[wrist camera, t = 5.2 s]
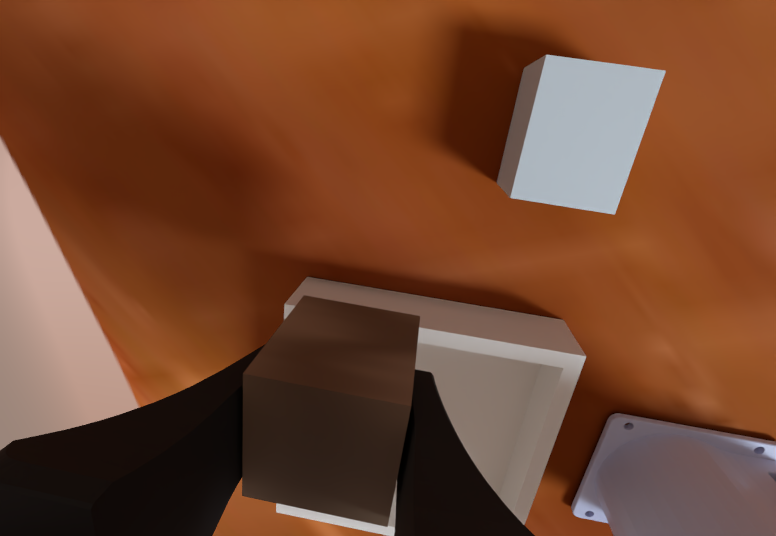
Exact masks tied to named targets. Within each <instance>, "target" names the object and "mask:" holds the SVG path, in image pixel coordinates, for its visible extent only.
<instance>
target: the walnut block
mask: <svg viewBox="0 0 776 536" xmlns="http://www.w3.org/2000/svg"><path fill="white" fill-rule="evenodd" d="M419 323H420V316H417V315H412V314H406V313H400V312H395V311H389V310H384V309H378V308H372V307H367V306H361V305H356V304H350V303H345V302H339V301H333V300H328V299H322V298H317V297H311V296H306V295H304V296H303V297H302V298H301V300H300V301H299V302H298V303H297V305H296V306H295V307H294V309H293V310H292V311H291V312H290V314H289V315H288V316H287V318H286V319H285V320H284V321H283V323H282V324H281V325H280V327H279V328H278V329H277V330H276V332H275V333H274V334H273V336H272V337H271V338H270V339H269V341H268V342H267V343H266V345H265V346H264V347H263V348H262V350H261V351H260V352H259V353H258V355H257V356H256V357H255V359H254V360H253V361H252V362H251V364H250V365H249V366H248V368H247V369H246V370H245V371H244V373H243V455H242V496H245V497H250V498H255V499H259V500H264V501H269V502H273V503H278V504H283V505H287V506H292V507H296V508H301V509H306V510H310V511H315V512H320V513H324V514H329V515H334V516H338V517H343V518H347V519H352V520H357V521H361V522H366V523H371V524H375V525H380V526H385V527H388V522H389V517H390V512H391V507H392V502H393V497H394V492H395V487H396V482H397V476H398V471H399V466H400V461H401V456H402V451H403V446H404V441H405V436H406V430H407V425H408V420H409V415H410V410H411V404H412V394H413V383H414V373H415V363H416V353H417V343H418V333H419Z"/></svg>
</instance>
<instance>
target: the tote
mask: <svg viewBox="0 0 776 536" xmlns="http://www.w3.org/2000/svg"><path fill="white" fill-rule="evenodd" d="M304 295H306V296H311V297H317V298H322V299H328V300H333V301H339V302H345V303H350V304H356V305H361V306H367V307H372V308H378V309H384V310H389V311H395V312H400V313H406V314H412V315H417V316H420V323H419V333H418V343H417V353H416V363H415V369H417V370H422V371H427V372H431V373H432V374H433V376H434V380H435V383H436V386H437V389H438V392H439V395H440V398H441V400H442V403H443V405H444V408H445V410H446V412H447V414H448V417H449V419H450V421H451V423H452V425H453V427H454V429H455V431H456V433H457V435H458V437H459V439H460V440H461V442H462V444H463V446H464V448H465V449H466V451H467V453H468V454H469V456H470V458H471V459H472V461H473V462H474V464H475V465H476V467H477V468H478V470H479V471H480V473H481V474H482V475H483V477H484V478H485V480H486V481H487V482H488V484H489V485H490V486H491V487H492V489H493V490H494V491H495V492H496V494H497V495H498V496H499V497H500V499H501V500H502V501H503V502H504V504H505V505H506V506H507V507H508V508H509V509H510V510H511V512H512V513H513V514H514V515H515V516H516V517H517V518H518V519H519V520H520V521H521V522H522V524H523V525H525V522H526V519H527V516H528V514H529V511H530V508H531V506H532V503H533V500H534V497H535V495H536V492H537V489H538V487H539V484H540V481H541V478H542V476H543V473H544V470H545V468H546V465H547V462H548V459H549V457H550V454H551V451H552V449H553V446H554V443H555V440H556V438H557V435H558V432H559V430H560V427H561V424H562V421H563V419H564V416H565V413H566V411H567V408H568V405H569V402H570V400H571V397H572V394H573V392H574V389H575V386H576V383H577V381H578V378H579V375H580V373H581V370H582V367H583V364H584V362H585V359H586V355H585V353H584V352H583V350H582V349H581V347H580V345H579V344H578V342H577V341H576V339H575V338H574V336H573V334H572V333H571V331H570V330H569V328H568V326H567V325H566V323H565V322H564V320H561V319H555V318H549V317H543V316H537V315H532V314H526V313H520V312H514V311H508V310H502V309H496V308H490V307H484V306H478V305H472V304H466V303H461V302H455V301H449V300H443V299H437V298H431V297H425V296H419V295H413V294H407V293H401V292H395V291H389V290H384V289H378V288H372V287H366V286H360V285H354V284H348V283H342V282H336V281H330V280H324V279H318V278H313V277H306V279H305V280H304V281H303V282H302V283H301V285H300V286H299V287H298V288H297V289H296V291H295V292H294V293H293V294H292V295H291V297H290V298H289V299H288V300H287V301H286V303H285V304H284V320H285V319H286V318H287V316H288V315H289V314H290V312H291V311H292V310H293V309H294V307H295V306H296V305H297V303H298V302H299V301H300V300H301V298H302V297H303V296H304ZM396 490H397V482H396V487H395V492H394V497H393V502H392V507H391V512H390V517H389V522H388V527H385V526H380V525H375V524H371V523H366V522H361V521H357V520H352V519H347V518H343V517H338V516H334V515H329V514H324V513H320V512H315V511H310V510H306V509H301V508H296V507H292V506H287V505H283V504H278V503H277V505H276V512H278V513H282V514H287V515H292V516H297V517H302V518H306V519H311V520H316V521H321V522H326V523H330V524H335V525H340V526H345V527H350V528H354V529H359V530H364V531H369V532H374V533H378V534H383V535H388V536H394V533H395V519H396Z"/></svg>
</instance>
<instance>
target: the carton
mask: <svg viewBox="0 0 776 536" xmlns="http://www.w3.org/2000/svg"><path fill="white" fill-rule="evenodd" d="M665 72H666V71H663V70H656V69H649V68H641V67H634V66H627V65H619V64H612V63H605V62H597V61H590V60H583V59H575V58H568V57H561V56H554V55H545V56H543V57H541V58H540V59H538V60H536V61H535V62H533V63H531V64H530V65H528V66H526V67H525V68H524V69H523V73H522V78H521V82H520V86H519V90H518V95H517V99H516V103H515V107H514V112H513V116H512V120H511V124H510V128H509V133H508V137H507V141H506V145H505V150H504V154H503V158H502V162H501V167H500V171H499V175H498V179H497V184H498V185H499V186H500V187H501V188H502V189H503V190H504V192H505V193H506V194H507V195H508V196H509V197H510V198H514V199H521V200H527V201H533V202H539V203H546V204H552V205H558V206H565V207H571V208H577V209H583V210H590V211H596V212H602V213H608V214H615V212H616V209H617V207H618V204H619V201H620V198H621V195H622V193H623V190H624V187H625V184H626V181H627V178H628V176H629V173H630V170H631V167H632V164H633V162H634V159H635V156H636V153H637V150H638V148H639V145H640V142H641V139H642V136H643V134H644V131H645V128H646V125H647V122H648V119H649V117H650V114H651V111H652V108H653V105H654V103H655V100H656V97H657V94H658V91H659V89H660V86H661V83H662V80H663V77H664V75H665Z"/></svg>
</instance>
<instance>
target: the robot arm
mask: <svg viewBox="0 0 776 536" xmlns="http://www.w3.org/2000/svg"><path fill="white" fill-rule="evenodd" d="M265 345H266V344H265ZM265 345H263V346H262V347H260V348H258V349H257V350H255V351H254V352H252V353H250V354H249V355H247V356H245V357H244V358H242V359H240V360H239V361H237V362H235V363H234V364H232V365H230V366H228V367H227V368H225V369H223V370H221V371H220V372H218V373H216V374H214V375H212V376H210V377H208V378H206V379H204V380H203V381H201V382H199V383H197V384H195V385H193V386H191V387H189V388H187V389H185V390H182V391H180V392H178V393H176V394H173V395H171V396H169V397H166V398H164V399H162V400H159V401H157V402H154V403H151V404H149V405H146V406H143V407H140V408H137V409H134V410H132V411H129V412H126V413H123V414H120V415H117V416H114V417H111V418H108V419H104V420H101V421H97V422H94V423H90V424H86V425H82V426H79V427H75V428H71V429H67V430H62V431H58V432H53V433H48V434H44V435H39V436H35V437H29V438H25V439H20V440H15V441H12V442H11V443H10V444H8V445H7V446H6V447H5V448H3V449H2V450H0V536H212V535H213V533H214V531H215V529H216V527H217V524H218V522H219V520H220V518H221V516H222V514H223V512H224V510H225V508H226V505H227V503H228V501H229V499H230V497H231V496H232V494H233V492H234V490H235V488H236V486H237V485H238V483H239V481H240V480H241V478H242V455H243V373H244V371H245V370H246V369H247V368H248V366H249V365H250V364H251V362H252V361H253V360H254V359H255V357H256V356H257V355H258V353H259V352H260V351H261V350H262V348H263V347H264V346H265ZM626 423H629V424H628V425H625V424H626ZM571 509H572V512H573V514H574V515H575V516H577V517H580V518H585V519H590V520H595V521H600V522H605V523H609V526H610V528H611V530H612V533H613V535H614V536H776V442H775V441H769V440H764V439H758V438H753V437H747V436H742V435H736V434H731V433H725V432H720V431H714V430H709V429H703V428H698V427H692V426H687V425H681V424H676V423H670V422H665V421H659V420H654V419H648V418H643V417H637V416H632V415H626V414H621V413H615V414H612V415H611V416H610V417H609V418H608V420H607V422H606V425H605V427H604V429H603V432H602V434H601V437H600V439H599V441H598V444H597V446H596V448H595V451H594V453H593V456H592V458H591V460H590V463H589V465H588V468H587V470H586V472H585V475H584V477H583V479H582V482H581V484H580V487H579V489H578V491H577V494H576V496H575V498H574V501H573V503H572V506H571ZM394 536H535V535H534V534H532V533H531V532H530V531H529V530H528V529H527V528H526V527H525V526H524V525H523V524H522V522H521V521H520V520H519V519H518V518H517V517H516V516H515V515H514V514H513V513H512V512H511V510H510V509H509V508H508V507H507V506H506V505H505V504H504V502H503V501H502V500H501V499H500V497H499V496H498V495H497V494H496V492H495V491H494V490H493V489H492V487H491V486H490V485H489V484H488V482H487V481H486V480H485V478H484V477H483V475H482V474H481V473H480V471H479V470H478V468H477V467H476V465H475V464H474V462H473V461H472V459H471V458H470V456H469V454H468V453H467V451H466V449H465V448H464V446H463V444H462V442H461V440H460V439H459V437H458V435H457V433H456V431H455V429H454V427H453V425H452V423H451V421H450V419H449V417H448V414H447V412H446V410H445V408H444V405H443V403H442V400H441V398H440V395H439V392H438V389H437V386H436V383H435V380H434V376H433V374H432V373H431V372H427V371H422V370H417V369H415V373H414V383H413V394H412V404H411V410H410V415H409V420H408V425H407V430H406V436H405V441H404V446H403V451H402V456H401V461H400V466H399V471H398V476H397V490H396V519H395V533H394Z"/></svg>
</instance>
